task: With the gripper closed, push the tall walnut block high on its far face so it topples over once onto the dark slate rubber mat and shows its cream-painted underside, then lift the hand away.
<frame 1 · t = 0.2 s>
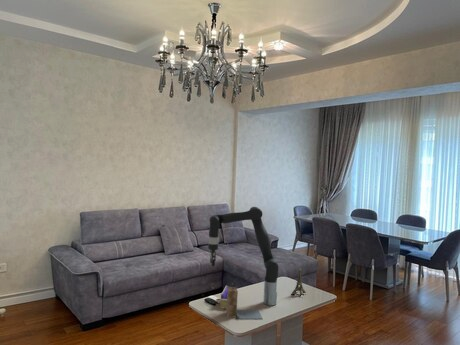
hand: (212, 264, 255), 29 cm above the table, fingers open, 8 cm apart
walnut block: (231, 314, 239), on the table
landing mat: (247, 314, 240), on the table
eiffel tower: (298, 294, 284), on the table
toy sofa: (228, 303, 258), on the table
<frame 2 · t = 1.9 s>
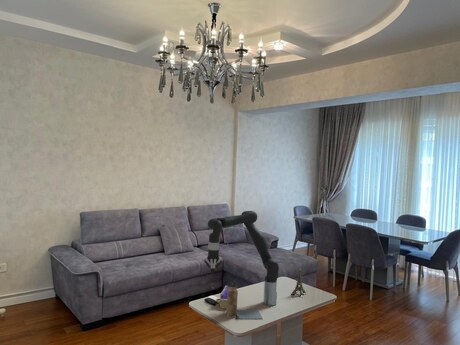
hand: (212, 273, 237), 29 cm above the table, fingers closed
nothing on the table moved.
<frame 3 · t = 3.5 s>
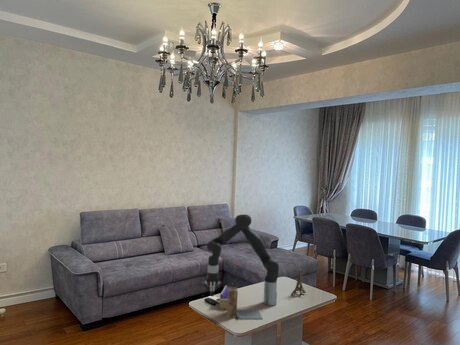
hand: (211, 296, 237), 13 cm above the table, fingers closed
nothing on the table moved.
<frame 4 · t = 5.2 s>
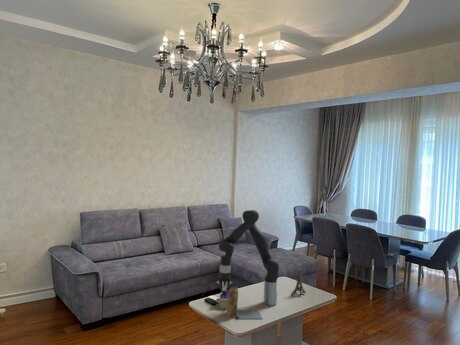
hand: (223, 295, 238), 13 cm above the table, fingers closed
walnut block: (231, 314, 239), on the table, touching hand
everything else where it was.
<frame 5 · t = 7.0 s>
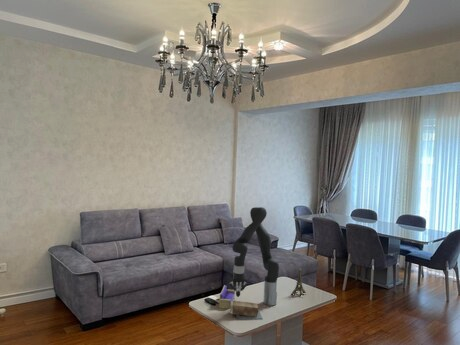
hand: (237, 296, 239), 13 cm above the table, fingers closed
walnut block: (231, 307, 239), point 5 cm above the table, tilted 96°, touching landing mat
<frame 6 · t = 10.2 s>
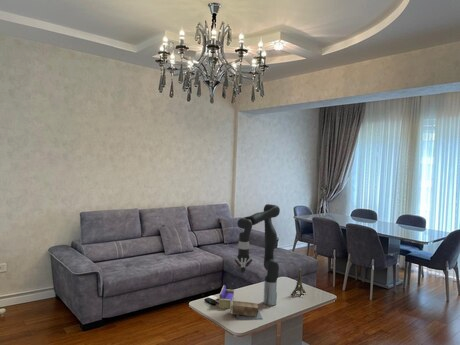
hand: (242, 272, 239), 30 cm above the table, fingers closed
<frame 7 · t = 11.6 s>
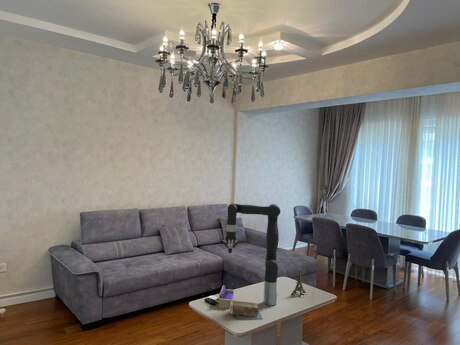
hand: (229, 253, 261), 37 cm above the table, fingers closed
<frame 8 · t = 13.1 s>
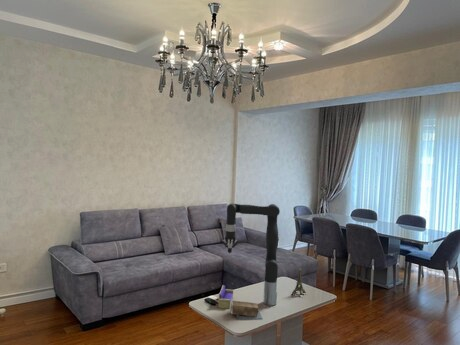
hand: (229, 252, 262), 37 cm above the table, fingers closed
at the end: walnut block tilted 96°; walnut block touching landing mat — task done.
